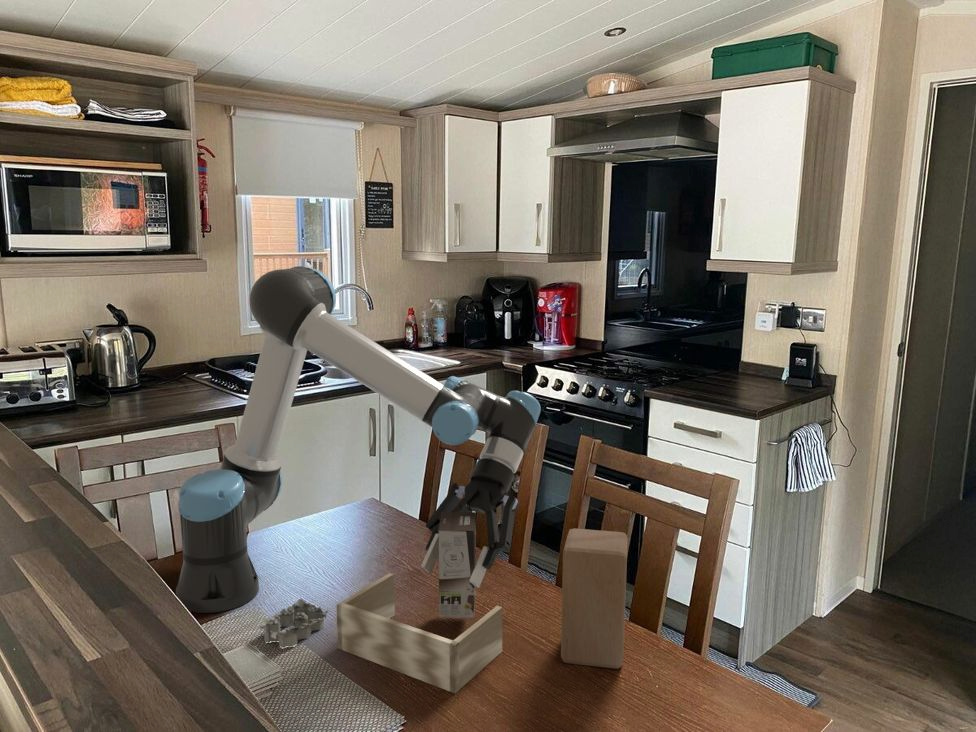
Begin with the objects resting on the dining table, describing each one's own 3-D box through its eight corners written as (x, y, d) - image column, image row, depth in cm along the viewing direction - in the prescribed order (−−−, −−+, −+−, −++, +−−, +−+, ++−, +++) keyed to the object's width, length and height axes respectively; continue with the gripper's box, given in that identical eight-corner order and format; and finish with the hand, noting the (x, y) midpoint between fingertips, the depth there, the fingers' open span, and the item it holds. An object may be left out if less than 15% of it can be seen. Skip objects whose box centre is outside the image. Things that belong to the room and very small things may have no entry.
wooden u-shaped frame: (338, 648, 129) (336, 604, 127) (390, 613, 140) (389, 573, 139) (455, 693, 116) (454, 645, 115) (502, 651, 128) (502, 607, 126)
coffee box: (475, 618, 132) (474, 530, 129) (438, 618, 132) (437, 530, 129) (477, 593, 141) (476, 510, 138) (442, 593, 141) (441, 510, 138)
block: (622, 671, 122) (626, 554, 118) (560, 664, 124) (562, 549, 120) (623, 639, 132) (627, 530, 128) (566, 633, 134) (568, 525, 130)
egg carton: (286, 654, 127) (285, 632, 127) (256, 641, 131) (255, 619, 131) (332, 626, 136) (331, 605, 135) (302, 615, 140) (301, 594, 139)
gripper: (555, 486, 140) (511, 601, 130) (456, 466, 152) (408, 570, 142) (542, 466, 135) (495, 584, 124) (440, 447, 146) (389, 553, 136)
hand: (449, 577), depth 133 cm, fingers closed on coffee box, 10 cm apart
